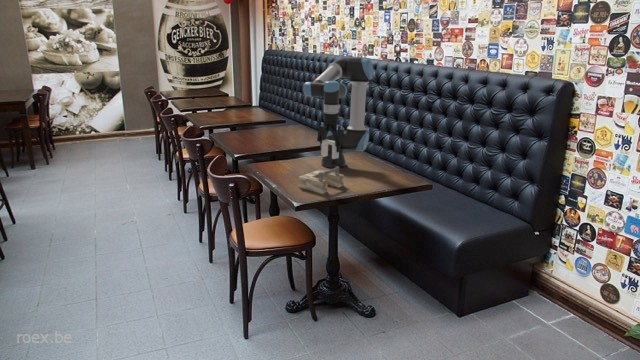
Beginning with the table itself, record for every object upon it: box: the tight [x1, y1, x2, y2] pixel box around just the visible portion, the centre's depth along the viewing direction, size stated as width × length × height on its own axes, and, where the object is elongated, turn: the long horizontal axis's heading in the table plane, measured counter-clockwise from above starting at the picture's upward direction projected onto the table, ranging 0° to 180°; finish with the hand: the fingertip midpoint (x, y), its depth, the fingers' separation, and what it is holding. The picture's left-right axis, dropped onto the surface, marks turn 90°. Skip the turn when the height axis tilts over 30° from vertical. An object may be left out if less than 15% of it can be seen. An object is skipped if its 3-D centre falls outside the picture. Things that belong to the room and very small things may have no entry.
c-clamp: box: [298, 166, 345, 195], centre depth 252 cm, size 18×16×10 cm
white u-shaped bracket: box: [321, 140, 336, 159], centre depth 244 cm, size 3×8×8 cm, turn 51°
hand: (329, 156), depth 246 cm, fingers closed on white u-shaped bracket, 8 cm apart
